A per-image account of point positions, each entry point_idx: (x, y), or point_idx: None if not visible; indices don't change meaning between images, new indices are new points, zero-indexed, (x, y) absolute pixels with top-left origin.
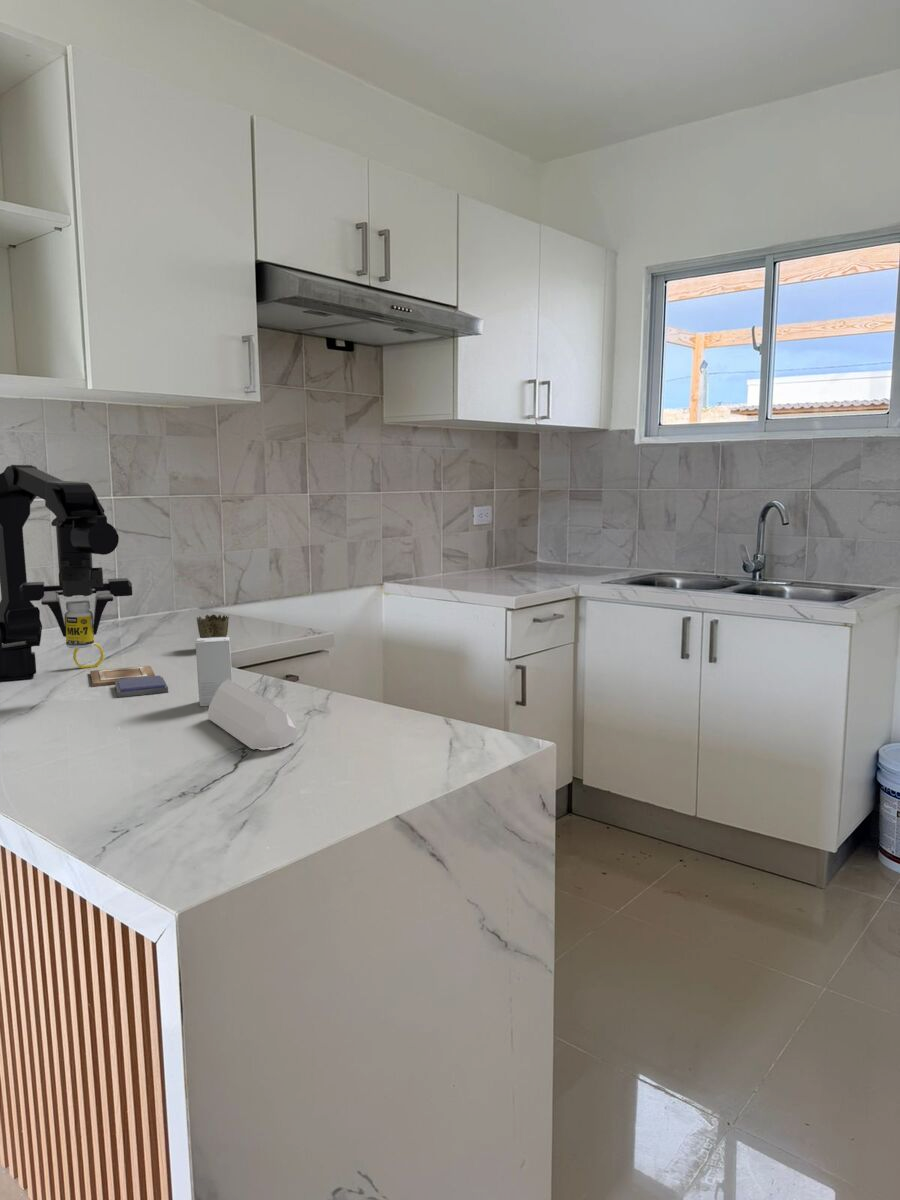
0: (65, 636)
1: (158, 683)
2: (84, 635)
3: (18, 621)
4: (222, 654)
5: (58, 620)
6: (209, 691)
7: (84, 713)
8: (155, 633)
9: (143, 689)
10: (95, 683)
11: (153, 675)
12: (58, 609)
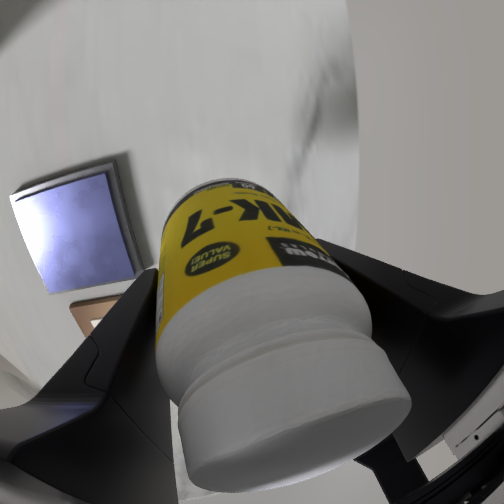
0: None
1: (27, 214)
2: (201, 205)
3: None
4: None
5: (394, 269)
6: None
7: (190, 18)
8: (177, 476)
9: (54, 181)
10: None
11: (81, 325)
12: (451, 312)
